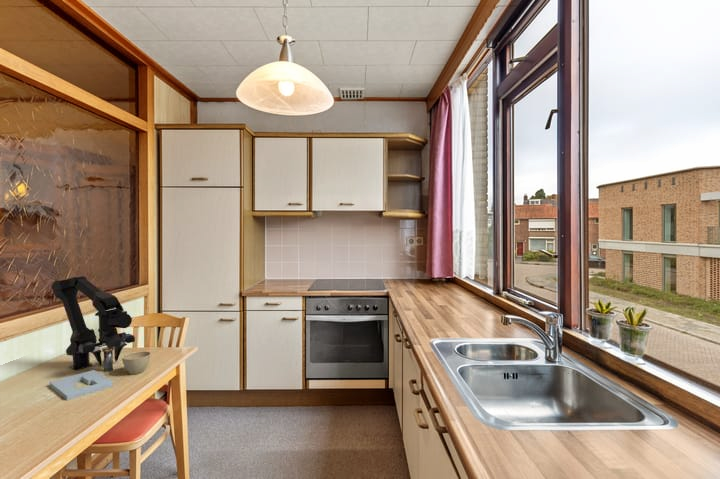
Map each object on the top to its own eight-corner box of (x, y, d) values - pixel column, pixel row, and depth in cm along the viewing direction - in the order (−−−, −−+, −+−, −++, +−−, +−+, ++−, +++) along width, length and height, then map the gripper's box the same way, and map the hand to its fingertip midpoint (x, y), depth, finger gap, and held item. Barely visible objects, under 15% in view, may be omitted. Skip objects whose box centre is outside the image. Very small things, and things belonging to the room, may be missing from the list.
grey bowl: (137, 377, 142) (137, 360, 142) (116, 376, 144) (115, 358, 144) (156, 368, 152) (156, 351, 151) (136, 366, 154) (136, 350, 153)
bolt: (101, 370, 149) (100, 348, 149) (112, 367, 153) (111, 345, 152) (105, 373, 147) (104, 350, 147) (116, 369, 150) (115, 347, 150)
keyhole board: (49, 386, 135) (49, 381, 135) (93, 373, 146) (93, 369, 146) (67, 400, 123) (67, 395, 123) (113, 385, 135) (113, 381, 135)
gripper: (87, 334, 137) (88, 375, 138) (140, 324, 152) (141, 360, 153) (77, 330, 144) (78, 368, 144) (128, 320, 159) (129, 355, 159)
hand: (108, 363), depth 150 cm, fingers open, 5 cm apart
